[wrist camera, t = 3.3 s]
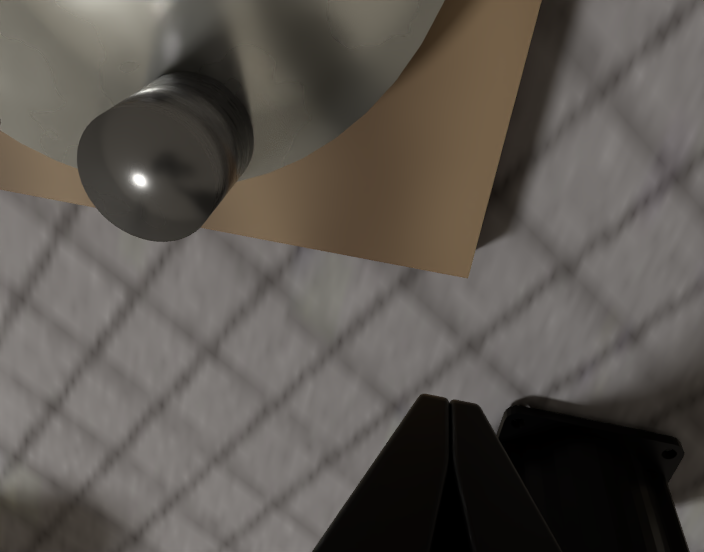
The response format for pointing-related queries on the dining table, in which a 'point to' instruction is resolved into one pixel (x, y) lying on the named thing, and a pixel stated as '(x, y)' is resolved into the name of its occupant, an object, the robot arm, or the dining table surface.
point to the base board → (377, 155)
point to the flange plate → (216, 35)
